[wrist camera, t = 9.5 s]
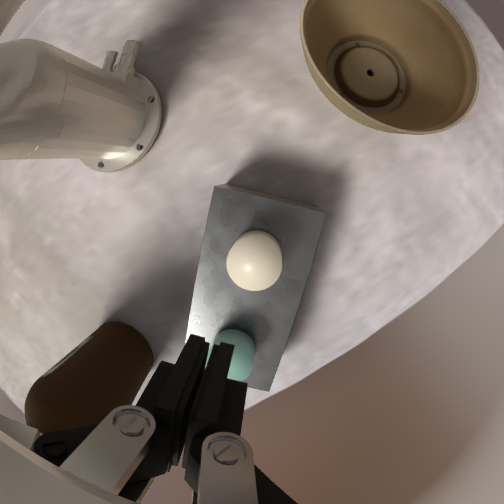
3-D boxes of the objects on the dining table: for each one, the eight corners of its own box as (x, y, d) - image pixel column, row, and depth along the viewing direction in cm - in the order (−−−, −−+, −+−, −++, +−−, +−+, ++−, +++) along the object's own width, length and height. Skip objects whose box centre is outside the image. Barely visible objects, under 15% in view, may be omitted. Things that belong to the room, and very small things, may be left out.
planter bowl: (399, 14, 24) (434, -27, 14) (444, 133, 28) (499, 124, 18) (275, 28, 27) (272, -24, 16) (319, 158, 30) (339, 151, 20)
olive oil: (169, 347, 38) (81, 501, 14) (142, 390, 40) (69, 519, 16) (105, 302, 37) (-24, 416, 13) (85, 350, 40) (-12, 457, 15)
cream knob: (245, 215, 32) (232, 231, 23) (285, 225, 32) (288, 245, 23) (236, 254, 33) (221, 283, 25) (275, 264, 33) (274, 296, 25)
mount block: (225, 183, 32) (214, 186, 26) (317, 206, 32) (326, 213, 26) (194, 342, 37) (181, 369, 31) (270, 361, 37) (269, 391, 31)
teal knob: (225, 300, 35) (209, 339, 26) (263, 309, 35) (257, 351, 26) (218, 331, 36) (202, 376, 27) (254, 340, 36) (246, 387, 27)
